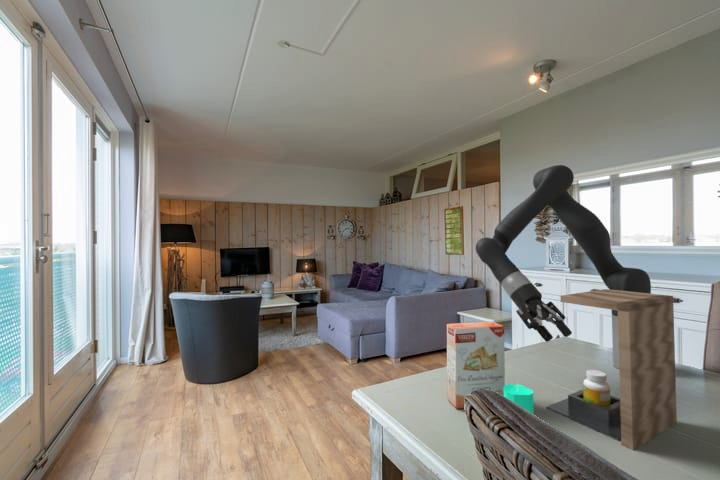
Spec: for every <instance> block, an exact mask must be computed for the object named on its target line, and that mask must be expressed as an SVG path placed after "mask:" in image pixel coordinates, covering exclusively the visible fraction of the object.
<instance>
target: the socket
mask: <svg viewBox="0 0 720 480" xmlns="http://www.w3.org/2000/svg"><path fill="white" fill-rule="evenodd" d="M545 408H546V409H547V410H549V411H552V412H554V413H556V414H558V415H560V416H562V417H565V418H567V419H569V420H571V421H574V422H576V423H578V424H581V425H583V426H584V427H588V428H590V429H591V430H593V431H595V432H598V433H600V434H602V435H604V436H607V437H609V438H611V439H613V440H615V441H618V442H620V441H621V412H620V397H616V396H614V395H611V394H610V406H607V407H603V406H600V405H598V404H595V403H592V402H590V401H587V400H585V399H584V395H583V389H581V390H578V391H575V392H573V393H569V394H568V395H567V398H565V399H563V400H560V401H558V402H555V403H552V404H550V405H547V406H546V407H545Z"/></svg>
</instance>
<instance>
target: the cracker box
mask: <svg viewBox="0 0 720 480" xmlns="http://www.w3.org/2000/svg"><path fill="white" fill-rule="evenodd" d="M505 361H506V360H505V326H504V325H502V324H500V323H498V322H494V321H476V322H457V323H447V324H446V375H447V376H446V378H447V379H446V381H447V385H446V386H447V387H446V388H447V393H446V394H447V395H446V396H447V397H446V398H447V400H448V401H449V402H450V403H451V405H452V406H453V407H454V408H455V409H457V410H458V409H459V410H460V409H465V408H464V397H465V396H466V395H468V394H470V393H471V392H472V391H473V390H475V389H479V388H484V389H489V390H493V391H495V392H498V393H499V394H501V395H503V396H504V386H505V385H506V379H505V378H506V375H505V373H506V372H505V370H506V369H505Z"/></svg>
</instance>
